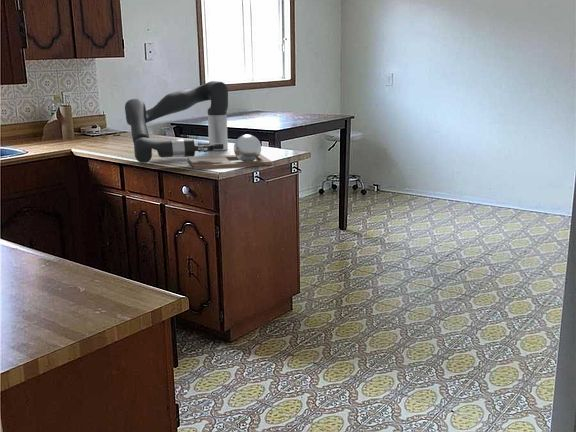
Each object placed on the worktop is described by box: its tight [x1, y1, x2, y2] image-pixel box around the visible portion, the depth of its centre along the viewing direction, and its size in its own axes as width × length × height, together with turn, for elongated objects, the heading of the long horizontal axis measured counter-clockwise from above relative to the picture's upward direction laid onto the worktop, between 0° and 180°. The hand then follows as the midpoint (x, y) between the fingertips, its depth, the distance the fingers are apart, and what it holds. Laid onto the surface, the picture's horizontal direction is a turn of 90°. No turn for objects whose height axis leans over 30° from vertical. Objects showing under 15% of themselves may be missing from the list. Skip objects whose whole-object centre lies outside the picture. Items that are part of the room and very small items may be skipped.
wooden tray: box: [187, 153, 273, 170], centre depth 274 cm, size 22×33×2 cm, turn 106°
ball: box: [233, 134, 262, 162], centre depth 275 cm, size 12×12×12 cm
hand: (222, 146), depth 271 cm, fingers closed
